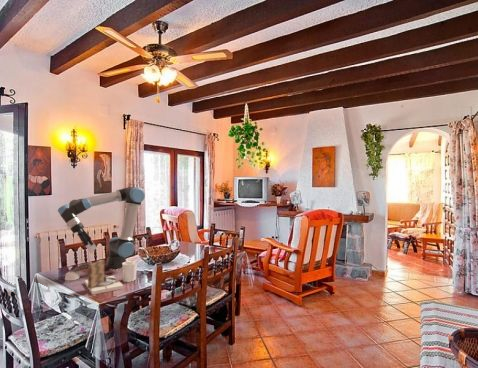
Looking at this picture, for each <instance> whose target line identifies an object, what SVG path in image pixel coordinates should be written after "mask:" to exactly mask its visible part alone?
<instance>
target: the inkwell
mask: <svg viewBox="0 0 478 368" xmlns="http://www.w3.org/2000/svg"><path fill="white" fill-rule="evenodd" d="M92 263H93V262H85V263H81V264H79V265H78V266H76V267H75V268H73V270H69V271H68V272H66V273H65V277H64V281H66V282H69V281H77V280H79V279H80V278H81V277H80V273H79V270H81V269H82V268H85V267H86V266H88V265H89V264H92Z"/></svg>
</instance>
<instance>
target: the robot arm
mask: <svg viewBox="0 0 478 368" xmlns="http://www.w3.org/2000/svg"><path fill="white" fill-rule="evenodd" d="M145 196H146V193H145V191H144V190H143V189H142V188H141V187H139V186H127V187H125V188H120V189H116V191H114V192H113V191H112V192H107V193H103V194H99V195H92V196H88V197H83V198H79V199H72V200H70V201H69V203H68V204H63V205H62V206H60V207H59V208H58V209H57V212H58V213H59V214H58V215H60V217H61V218H62V219H63V221H64V222H65V223H66V226H67V227H68V229H70V231H71V232H72V233H73V234H75V233H77V236H78V237H79V239H80V241H81V242H82V244H83V246H84V247H86V249H87V251H88V252H89V253H90V254H93V253H94V252H95V250H96V249H98V247H97V246H96V244H95V243H94V241H93V240H92V238H91V236H90V235H89V234H88V233H87V232H86V231H85V229H84V228H85V226H84V224H83V223H82V221H81V220H80V218H79V217H78V215H79V214H82V213H83V212H85V211H87V210H89V209H91V208H93V207H97V206H101V205H106V204H111V203H114V202H119V203H121V202H125V205H126V209H125V212H124V213H125V214H124V218H123V223H122V228H121V233H120V236H116V237H111V238H109V239H108V257H107V261H106V264H105V267H106V268H107V269H122V268H121V267H122V263H123V262H127V259H126V258H128V257H131V255H133V254H134V252H135V247H136V246H135V245H134V241H135V240H134V238H133V235H134V230H135V225H136V221H137V215H138V210H139V207H140V206H141V205H142V202H143V201H144V200H145Z"/></svg>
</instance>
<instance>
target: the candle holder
mask: <svg viewBox="0 0 478 368" xmlns="http://www.w3.org/2000/svg"><path fill="white" fill-rule="evenodd" d="M137 266H138V261H134V260H129V261H127V260H126V262H123V263H122V268H121V269H122V270H121V271H122V281H123V282H124V283H132V282H131V281H133V282H134V280H135V281H136V279H137V272H138V271H137V269H138V268H137Z"/></svg>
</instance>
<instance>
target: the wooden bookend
mask: <svg viewBox="0 0 478 368" xmlns="http://www.w3.org/2000/svg"><path fill="white" fill-rule="evenodd" d="M105 261H106V260H105V259H101V260H97V261H95V262H94V261H93V262H91V263H92V264H89V265H87V266H88V267H87V268H88V271H87V280H88V288H92V287H94V286H107V285H111V284H113V283H115V278H116V277H115V278H111V277H108V276H107V275H105ZM88 288H87V289H88Z"/></svg>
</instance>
